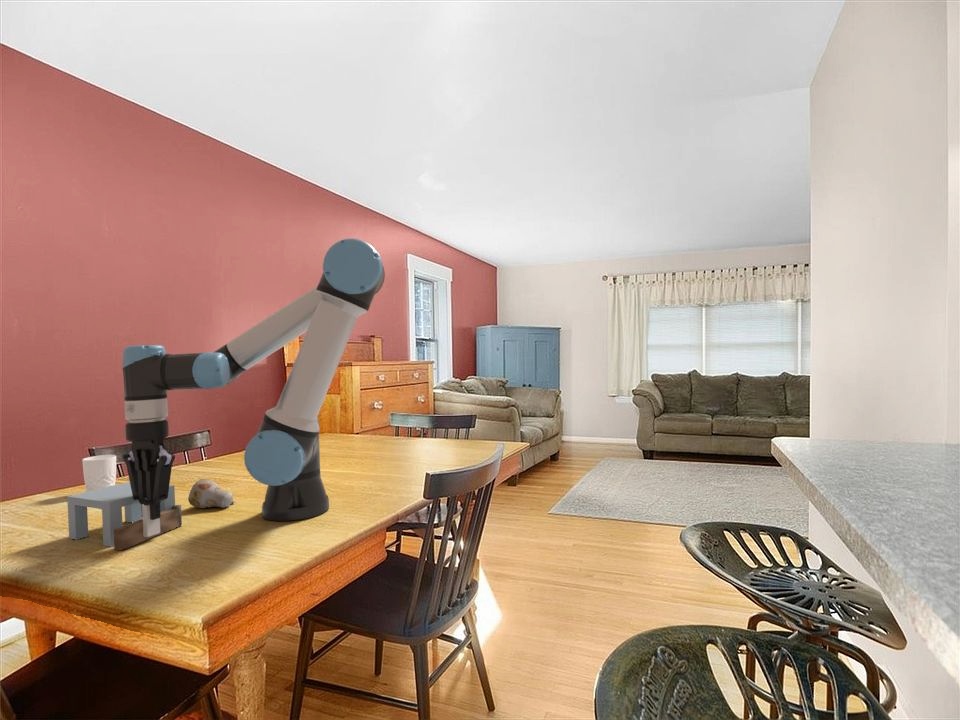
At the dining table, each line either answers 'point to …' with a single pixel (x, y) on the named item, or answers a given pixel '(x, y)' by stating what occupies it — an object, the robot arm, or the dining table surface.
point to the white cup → (99, 471)
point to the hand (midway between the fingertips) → (152, 534)
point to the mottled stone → (209, 495)
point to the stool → (108, 509)
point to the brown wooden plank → (134, 531)
